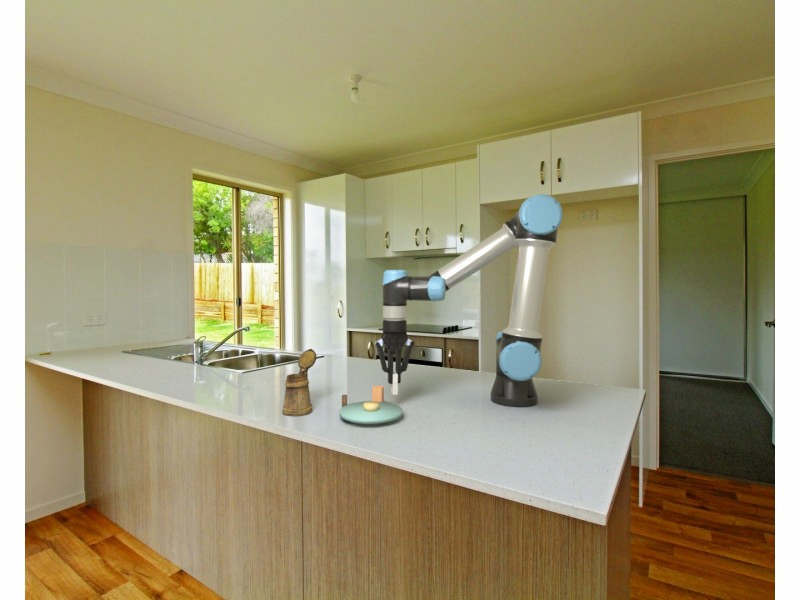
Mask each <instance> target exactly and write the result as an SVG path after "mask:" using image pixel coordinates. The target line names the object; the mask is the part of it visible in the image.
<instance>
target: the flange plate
mask: <svg viewBox="0 0 800 600" xmlns="http://www.w3.org/2000/svg"><path fill="white" fill-rule="evenodd" d="M384 390H385V387H384V386H383V385H374V386H372V388H371V400H368V401H367V400H364V401H358V402H352V403H347V405H345V406H343V407H342V406H341V408H340V409H339V416H340V418H341V419H342V420H344V421H347V422H348V423H349V422H350V423H353V424H354V423H355V424H363V425H370V424H371V425H372V424H373V425H376V424H383V423H384V424H385V423H389V422H394V421H397V420H399V419H400V418H401V417H403V408H402V406H401V405H399V404H396V403H392V402H388V401H385V394H384V393H385V392H384Z"/></svg>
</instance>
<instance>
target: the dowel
mask: <svg viewBox="0 0 800 600" xmlns="http://www.w3.org/2000/svg"><path fill="white" fill-rule="evenodd" d="M345 405H348V394H342V395H341V408H342V407H343V406H345Z"/></svg>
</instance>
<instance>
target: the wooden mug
mask: <svg viewBox="0 0 800 600" xmlns="http://www.w3.org/2000/svg"><path fill="white" fill-rule="evenodd" d="M317 356H318V355H317V353H316V352H315V350H313V348H309V349H306V350H305V351H303V352H302V353H301V354H300V355H299V358H298V360H297V366H298V367H299V372H298V373H292V374H287V375H286V379H285V383H284V384H285V385H284V386H285V390H284V391H285V392H284V399H283V406H282V412H281V413H282V415H284V416H288V417H301V416H306V415H310V414H311V413H312V412H313V404H312V403H311V394H310V386H309V384H310V382H309V378H308V377H309V375H308V371H309V369H310V368H312V367H313V366H314V365H315V363H316V360H317Z"/></svg>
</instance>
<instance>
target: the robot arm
mask: <svg viewBox="0 0 800 600" xmlns="http://www.w3.org/2000/svg"><path fill="white" fill-rule="evenodd" d="M563 215H564V213H563V207H562V205H561V203H560V202H559V201H558V199H556V198H555V197H553V196H551V195H549V194H545V193H540V194H538V193H537V194H535V195H532V196H530V197H528V198H526V199H525V200H524V201H523V203H522V204H521V205H520V208H519V210H518V211H517V212H516V213H515V214H514V215H513V216H512V217H511V218H509V220H507V221H506V222H504V223H502V227H501V228H500V229H498V230H497V231H496V232H494V233H492V234H491V235H490V236H488V237H486V238H485V239H483V240H482V241H480V242H479V243H477V244H475V246H472V247H471V248H469V249H468V250H467V251H465V252H464V253H462V254H460V255H458V256H457V257H455V258H454V259H453V260H451V261H449V262H448V263H446V264H445V265H443V266H442V267H440V268H439V269H438V270H436V271H435V272H433V273H431V274H430V275H426V276H409V275H408V272H407V270H405V269H386V270H385V271H384V272H383V277H382V278H383V279H382V319H383V320H382V334H381V335H380V339H379V340H377V341H374V342H373V344H374V346H375V348H376V349H377V353H378V357H379V361H380V366H381V370H382V371H383V373H386V374H387V383H388V384H389V385H390V394H392V396H398V395H399V394H398V393H399V389H398V388H399V384H401V381H402V380H401V379H402V377H401V376H402V373H403V372H407V371H408V370H407V369H408V366H409V362H410V357H411V353H412V349H413V348H414V345H415V344H416V343H415V340H411V339H410V338H409V336H408V334H407V331H408V330H407V327H408V325H407V322H408V321H407V317H408V315H407V314H408V313H407V312H408V310H407V309H408V307H407V305H408V303H407V302H408V301H419V302H420V301H422V302H425V301H426V302H440V301H444V300H445V299H446V292H448V291H449V290H450V289H452V288H453V287H455V286H457V285H458V284H460V283H461V282H463V281H464V280H467V279H468V278H469V277H471V276H473V275H474V274H476V273H477V272H479V271H480V270H482V269H484V268H485V267H487V266H489V265H490V264H491V263H493V262H495V261H496V260H497V259H499V258H501V257H502V256H503V255H505V254H507V253H509V252H511V251H512V250H513V249H518V252H517V262H516V268H515V276H514V281H513V282H514V284H513V291H512V297H511V304H510V306H511V307H510V312H509V318H508V319H509V320H508V325H507V327H506V328H504V329H503V330H502V331H499V332H497V333H496V339H495V343H496V345H495V346H496V349H495V351H496V352H495V353H496V355H495V356H496V357H495V359H496V360H495V378H494V382H493V385H492V388H491V390H490V401H491V402H493V403H494V404H498V405H501V406H508V407H519V408H521V407H522V408H523V407H525V408H526V407H532V406H535V405H537V404H538V393H537V390H536V389H537V388H536V386H535V383H534V380H533V378H534V377H535V376H537V374H539V372H540V370H541V368H542V364H543V360H542V359H543V357H542V354H541V349H542V345H543V344H542V343H543V335H542V334H541V333H540V332H539V326H540V318H541V311H542V304H543V297H544V291H545V290H544V289H545V282H546V275H547V271H548V269H547V268H548V261H549V254H550V250H551V249H552V248H553V247H555V246H556V244H557V237H558V232H559V228H560V225H561V224H562V222H563V217H564V216H563ZM383 343H384V344H383ZM384 345H385V347H386V348H387V349H386V350H387V362H386V357H385V353H384V349H383V346H384ZM404 345H406V346H405V349H404V353H403V357H402V351H403V347H404ZM394 352H395V372H394Z"/></svg>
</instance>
